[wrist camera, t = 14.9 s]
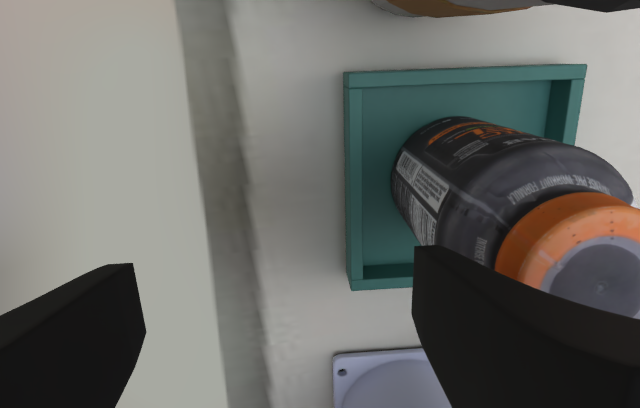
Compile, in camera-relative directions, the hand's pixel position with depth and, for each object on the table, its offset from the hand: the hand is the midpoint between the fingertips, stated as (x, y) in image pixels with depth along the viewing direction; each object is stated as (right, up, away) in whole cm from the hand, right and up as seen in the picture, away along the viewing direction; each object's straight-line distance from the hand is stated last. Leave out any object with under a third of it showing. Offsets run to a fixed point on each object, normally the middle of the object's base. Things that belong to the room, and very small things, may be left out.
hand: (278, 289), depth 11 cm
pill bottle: (+7, +4, +10) cm, 13 cm away
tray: (+7, +4, +10) cm, 13 cm away
